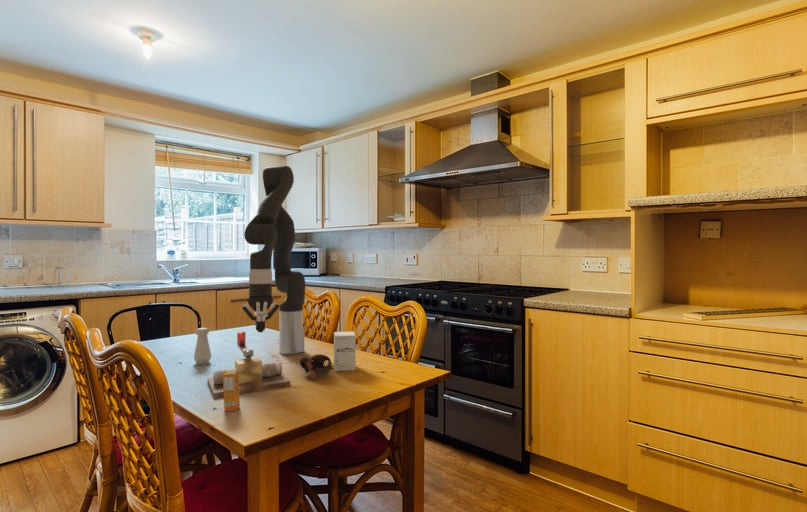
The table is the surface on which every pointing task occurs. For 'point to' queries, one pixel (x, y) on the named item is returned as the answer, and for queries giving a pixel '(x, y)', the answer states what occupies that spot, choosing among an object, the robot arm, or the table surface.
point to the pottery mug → (316, 365)
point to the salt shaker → (202, 347)
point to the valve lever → (243, 345)
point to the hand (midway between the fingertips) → (260, 331)
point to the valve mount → (250, 377)
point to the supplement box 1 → (231, 391)
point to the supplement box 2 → (344, 351)
